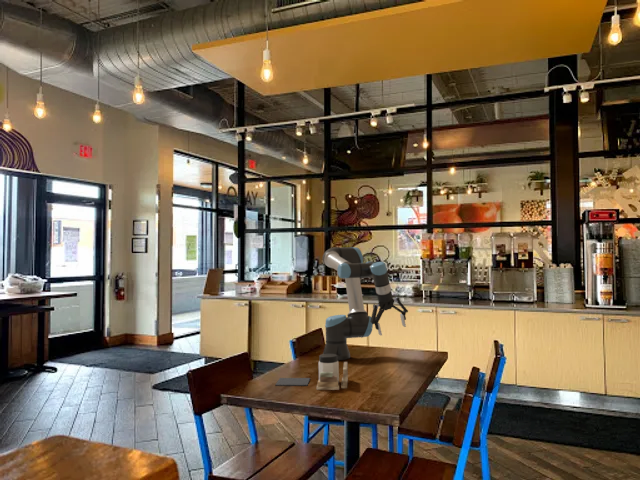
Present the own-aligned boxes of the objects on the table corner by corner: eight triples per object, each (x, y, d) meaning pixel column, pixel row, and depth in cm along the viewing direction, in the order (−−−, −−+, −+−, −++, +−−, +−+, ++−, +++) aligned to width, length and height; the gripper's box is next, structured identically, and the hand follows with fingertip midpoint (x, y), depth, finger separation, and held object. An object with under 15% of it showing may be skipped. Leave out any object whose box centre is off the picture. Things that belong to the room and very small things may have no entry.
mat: (275, 385, 208) (275, 384, 208) (279, 379, 219) (279, 377, 219) (307, 385, 206) (307, 384, 206) (310, 379, 218) (310, 377, 218)
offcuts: (317, 386, 200) (317, 373, 200) (318, 385, 203) (317, 371, 203) (337, 386, 199) (337, 373, 200) (338, 385, 202) (337, 371, 203)
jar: (341, 383, 209) (341, 356, 210) (325, 386, 206) (324, 358, 206) (332, 379, 217) (331, 352, 218) (316, 381, 214) (315, 354, 214)
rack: (316, 389, 200) (316, 370, 200) (319, 379, 217) (319, 361, 217) (346, 389, 199) (346, 370, 199) (347, 379, 216) (347, 361, 216)
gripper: (363, 301, 234) (372, 340, 239) (409, 286, 240) (417, 324, 244) (358, 297, 241) (367, 335, 246) (402, 283, 247) (410, 320, 251)
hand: (392, 330), depth 245 cm, fingers open, 13 cm apart
